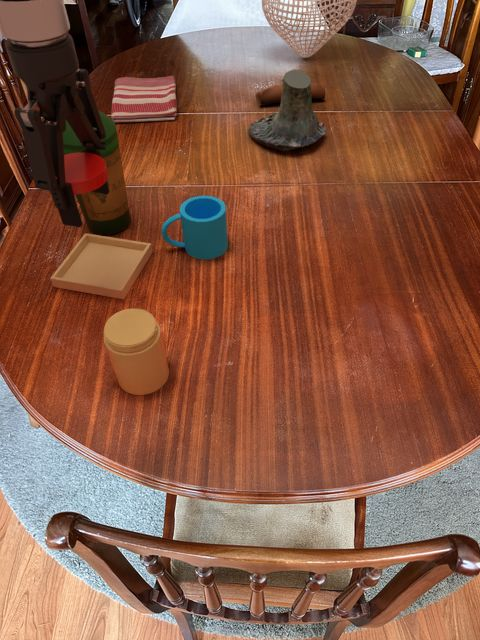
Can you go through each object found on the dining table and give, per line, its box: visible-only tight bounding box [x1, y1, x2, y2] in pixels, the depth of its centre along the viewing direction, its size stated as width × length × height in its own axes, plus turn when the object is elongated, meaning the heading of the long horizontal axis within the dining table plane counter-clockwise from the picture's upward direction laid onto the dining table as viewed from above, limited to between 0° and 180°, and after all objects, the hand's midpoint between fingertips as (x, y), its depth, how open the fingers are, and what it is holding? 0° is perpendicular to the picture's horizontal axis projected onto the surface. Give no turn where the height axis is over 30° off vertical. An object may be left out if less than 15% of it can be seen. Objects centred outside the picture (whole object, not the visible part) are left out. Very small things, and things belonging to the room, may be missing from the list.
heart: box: [261, 0, 357, 58], centre depth 150 cm, size 28×16×22 cm, turn 102°
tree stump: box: [248, 69, 327, 152], centre depth 119 cm, size 18×20×18 cm
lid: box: [56, 152, 109, 195], centre depth 71 cm, size 8×8×2 cm
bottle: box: [55, 86, 132, 236], centre depth 90 cm, size 11×11×28 cm
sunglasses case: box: [255, 82, 326, 107], centre depth 137 cm, size 18×7×7 cm
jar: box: [103, 308, 170, 396], centre depth 72 cm, size 8×8×10 cm
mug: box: [161, 195, 229, 260], centre depth 93 cm, size 12×8×8 cm
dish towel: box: [110, 75, 178, 123], centre depth 135 cm, size 17×23×3 cm
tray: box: [49, 232, 153, 300], centre depth 91 cm, size 13×13×2 cm
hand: (87, 207), depth 75 cm, fingers closed on lid, 8 cm apart
